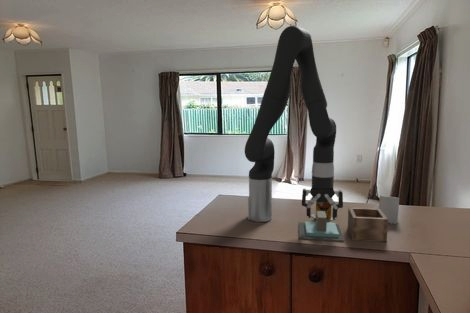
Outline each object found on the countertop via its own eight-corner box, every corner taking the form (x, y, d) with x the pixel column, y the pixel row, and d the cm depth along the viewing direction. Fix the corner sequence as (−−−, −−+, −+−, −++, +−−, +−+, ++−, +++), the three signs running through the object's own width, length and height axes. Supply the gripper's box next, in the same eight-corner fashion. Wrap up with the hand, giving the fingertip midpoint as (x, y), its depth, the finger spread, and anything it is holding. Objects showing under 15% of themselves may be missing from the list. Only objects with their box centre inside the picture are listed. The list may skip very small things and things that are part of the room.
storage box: (352, 240, 112) (353, 217, 110) (347, 227, 122) (348, 207, 121) (386, 242, 110) (388, 219, 108) (378, 229, 120) (380, 208, 119)
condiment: (321, 222, 129) (322, 192, 127) (308, 215, 137) (309, 187, 135) (336, 219, 132) (337, 190, 130) (323, 212, 139) (323, 185, 137)
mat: (298, 239, 113) (298, 237, 113) (298, 223, 128) (298, 222, 128) (344, 241, 110) (344, 240, 110) (338, 225, 125) (338, 224, 125)
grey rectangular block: (397, 224, 125) (398, 199, 123) (378, 221, 129) (379, 196, 127) (397, 221, 128) (399, 196, 127) (379, 218, 132) (380, 194, 130)
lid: (306, 235, 115) (306, 218, 114) (305, 224, 125) (305, 208, 124) (338, 237, 113) (339, 220, 112) (334, 225, 123) (335, 209, 122)
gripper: (302, 176, 113) (301, 220, 116) (345, 177, 110) (343, 222, 113) (302, 171, 120) (301, 213, 123) (342, 172, 118) (340, 215, 120)
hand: (321, 217), depth 118 cm, fingers open, 8 cm apart
